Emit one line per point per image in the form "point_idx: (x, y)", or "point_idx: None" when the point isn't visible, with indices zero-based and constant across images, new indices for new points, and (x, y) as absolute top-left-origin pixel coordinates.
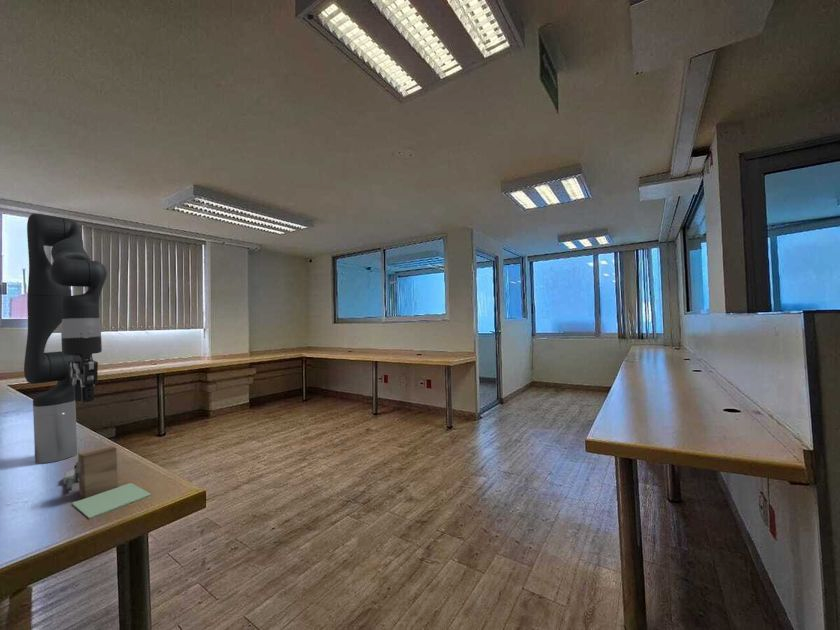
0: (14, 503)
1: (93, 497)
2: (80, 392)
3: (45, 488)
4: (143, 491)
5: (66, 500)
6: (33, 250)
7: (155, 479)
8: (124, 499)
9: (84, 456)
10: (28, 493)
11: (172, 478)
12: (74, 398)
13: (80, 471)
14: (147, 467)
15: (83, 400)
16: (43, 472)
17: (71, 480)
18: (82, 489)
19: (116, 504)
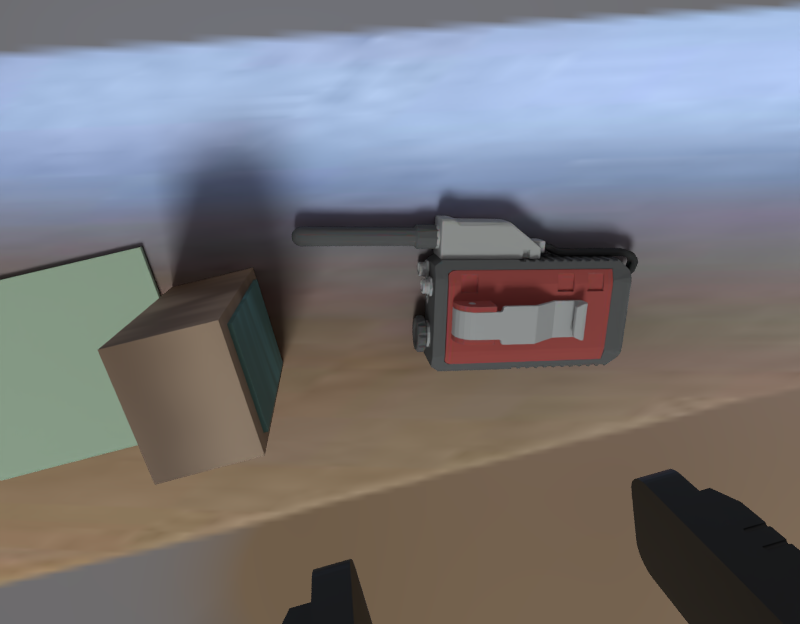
0: (357, 56)
1: (140, 312)
2: (694, 588)
3: (455, 154)
4: (57, 459)
5: (213, 227)
6: None
7: (188, 495)
8: (17, 404)
9: (99, 351)
10: (448, 98)
11: (145, 542)
12: (669, 474)
13: (206, 300)
14: (374, 477)
15: (318, 586)
16: (709, 138)
17: (400, 243)
18: (202, 284)
19: None
